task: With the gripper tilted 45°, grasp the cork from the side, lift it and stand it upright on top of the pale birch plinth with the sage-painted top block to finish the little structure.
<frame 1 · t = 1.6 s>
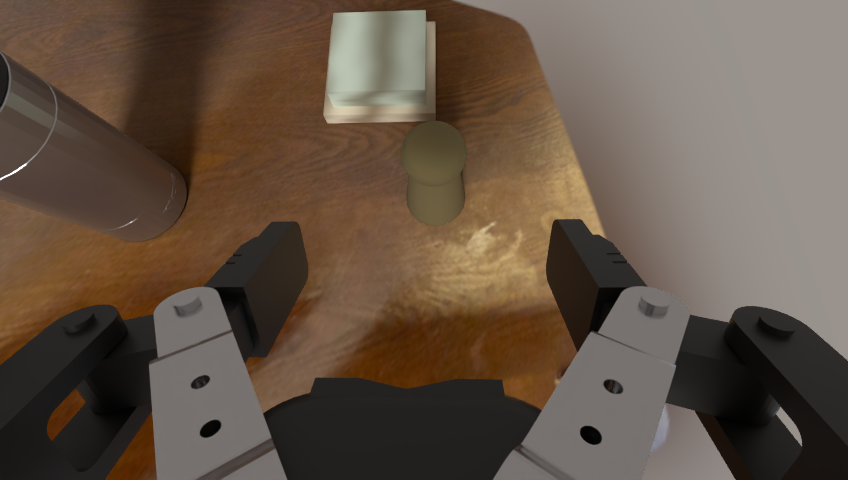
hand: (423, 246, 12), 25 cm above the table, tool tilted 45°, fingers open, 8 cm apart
cork: (435, 198, 39), on the table
plinth: (383, 76, 43), on the table
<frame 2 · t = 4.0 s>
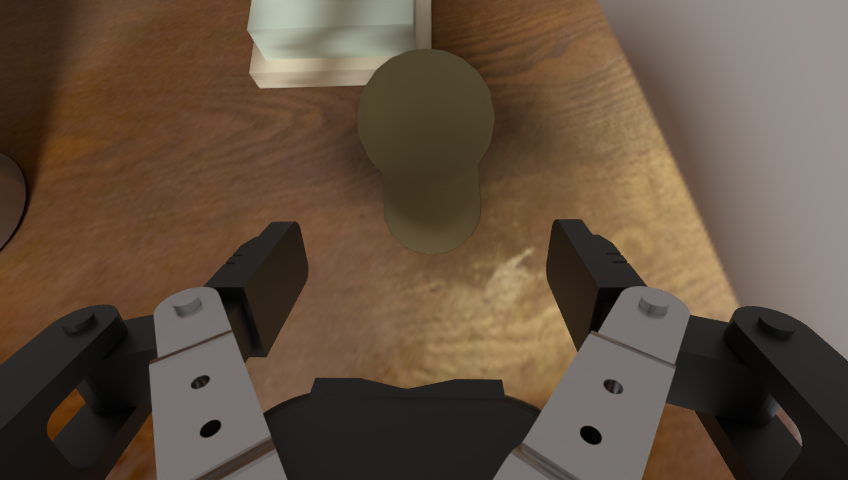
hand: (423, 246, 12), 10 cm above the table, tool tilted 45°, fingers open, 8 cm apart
cork: (432, 208, 24), on the table
plinth: (349, 16, 28), on the table
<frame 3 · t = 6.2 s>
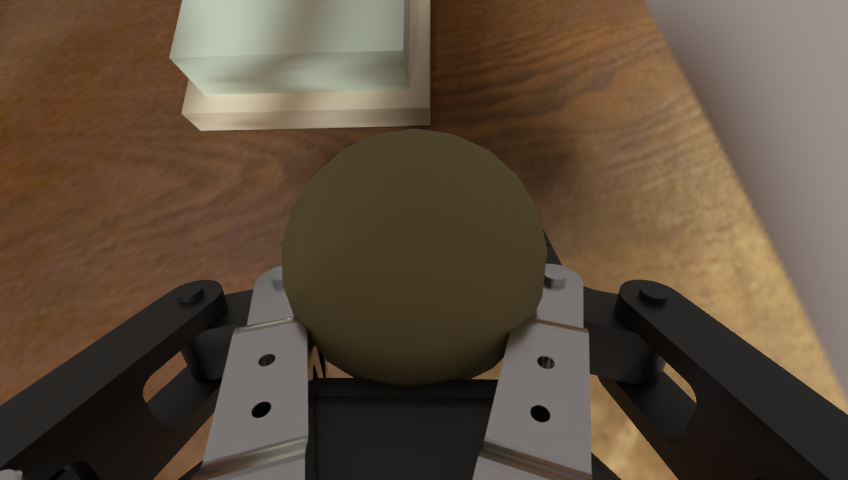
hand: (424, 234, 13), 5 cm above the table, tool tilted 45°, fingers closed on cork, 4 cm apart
cork: (430, 305, 17), on the table, touching gripper
plinth: (323, 33, 21), on the table
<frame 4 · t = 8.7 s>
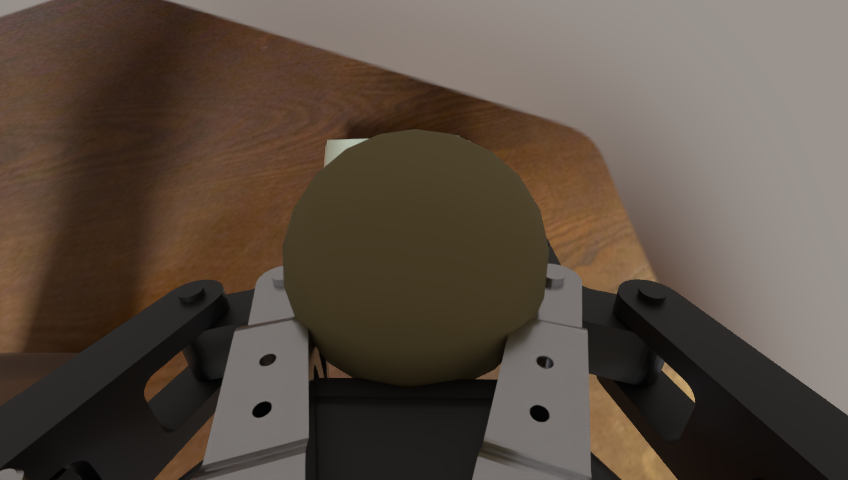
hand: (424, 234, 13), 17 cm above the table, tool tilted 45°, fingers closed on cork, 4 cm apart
cork: (432, 305, 17), point 12 cm above the table, touching gripper
plinth: (398, 218, 31), on the table
when the fingers open (10 cm above the table, at t = 11.4 s): cork drops 1 cm, resting on plinth.
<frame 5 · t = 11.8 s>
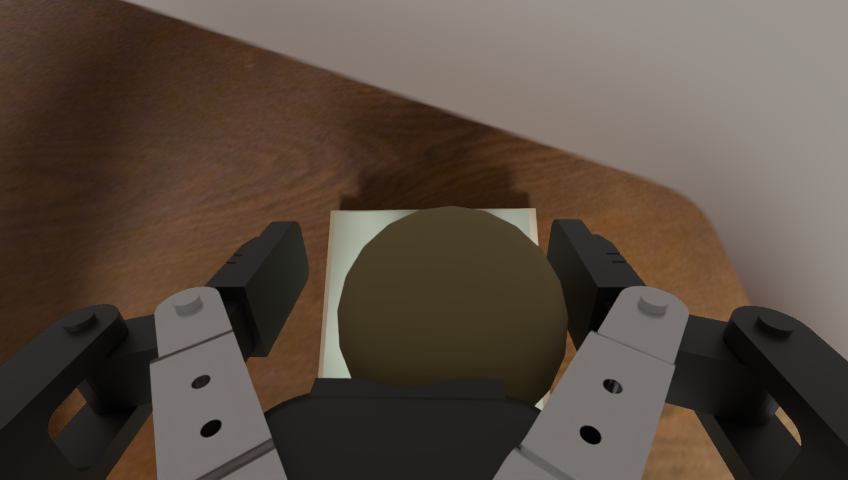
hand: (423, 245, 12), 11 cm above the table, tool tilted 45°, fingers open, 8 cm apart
cork: (447, 330, 18), point 4 cm above the table, touching plinth
plinth: (432, 315, 22), on the table
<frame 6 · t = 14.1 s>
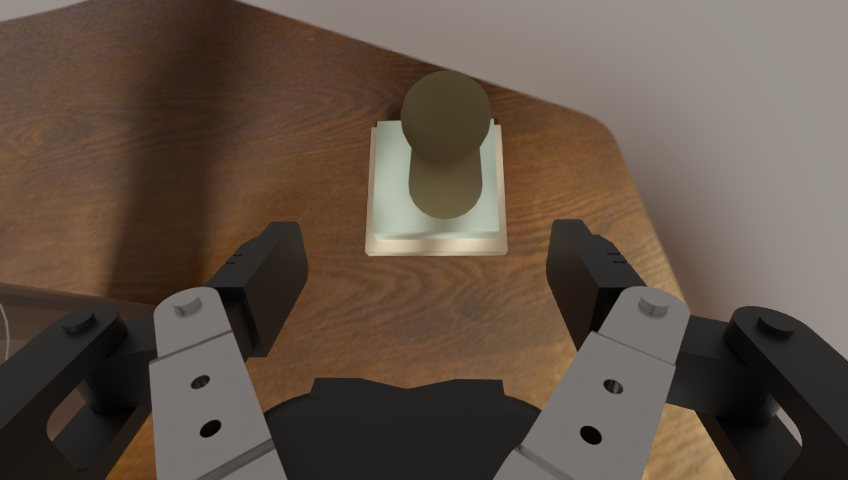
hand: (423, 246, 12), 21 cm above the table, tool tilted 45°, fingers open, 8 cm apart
cork: (445, 185, 31), point 4 cm above the table, touching plinth
plinth: (435, 192, 35), on the table
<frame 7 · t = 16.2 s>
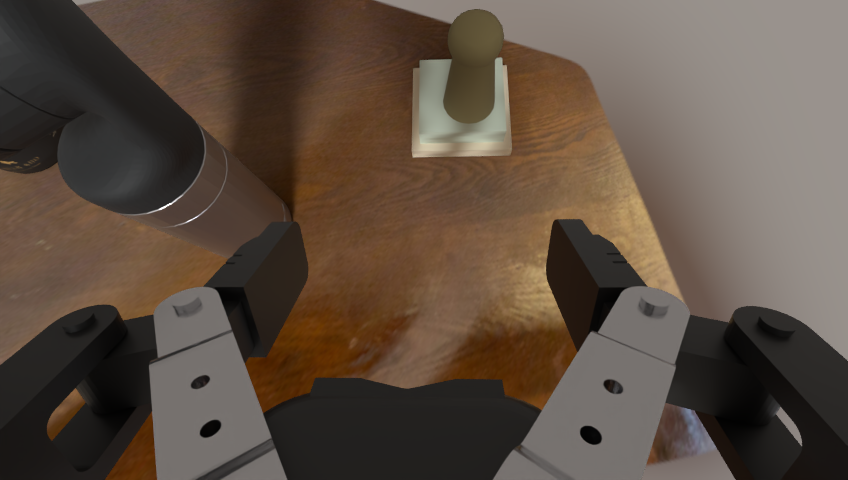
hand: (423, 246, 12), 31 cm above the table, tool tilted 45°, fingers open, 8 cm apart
jar: (41, 144, 51), on the table
cork: (468, 102, 44), point 4 cm above the table, touching plinth
plinth: (460, 114, 48), on the table
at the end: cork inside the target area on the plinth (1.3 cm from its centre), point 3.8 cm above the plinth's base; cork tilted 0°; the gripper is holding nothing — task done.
